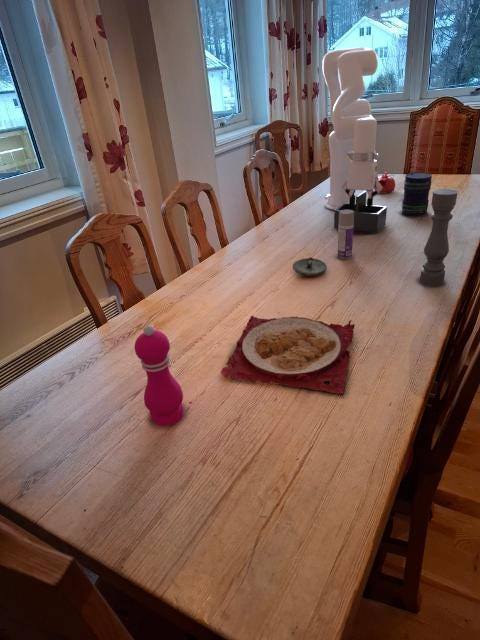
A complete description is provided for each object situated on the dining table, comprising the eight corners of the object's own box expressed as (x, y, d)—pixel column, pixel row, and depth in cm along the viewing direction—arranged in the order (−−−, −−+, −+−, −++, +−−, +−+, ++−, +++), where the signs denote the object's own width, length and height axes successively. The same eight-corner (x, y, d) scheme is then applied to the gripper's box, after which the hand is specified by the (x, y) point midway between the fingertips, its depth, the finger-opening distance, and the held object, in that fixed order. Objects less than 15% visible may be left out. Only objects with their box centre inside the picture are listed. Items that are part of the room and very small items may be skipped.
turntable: (329, 228, 166) (329, 227, 166) (357, 218, 173) (357, 217, 173) (362, 238, 154) (362, 237, 154) (390, 226, 162) (390, 225, 162)
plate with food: (251, 322, 110) (250, 310, 108) (354, 329, 102) (355, 316, 100) (219, 380, 91) (217, 367, 89) (343, 394, 83) (343, 380, 81)
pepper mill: (150, 404, 85) (129, 318, 75) (186, 400, 85) (170, 313, 75) (146, 430, 79) (123, 340, 69) (186, 425, 79) (167, 334, 69)
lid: (305, 266, 140) (301, 252, 138) (332, 264, 134) (329, 249, 132) (289, 280, 133) (285, 266, 131) (317, 279, 127) (313, 263, 125)
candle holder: (442, 277, 122) (457, 188, 109) (444, 287, 117) (459, 195, 104) (419, 276, 124) (431, 188, 111) (419, 285, 119) (432, 195, 106)
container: (351, 253, 143) (353, 209, 135) (353, 259, 139) (355, 213, 131) (336, 254, 143) (338, 209, 136) (338, 259, 139) (339, 214, 132)
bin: (333, 228, 164) (334, 195, 158) (343, 220, 171) (345, 188, 165) (376, 233, 156) (379, 198, 150) (385, 224, 163) (388, 191, 157)
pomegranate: (386, 188, 210) (388, 168, 205) (399, 192, 201) (401, 171, 197) (368, 191, 207) (370, 171, 203) (381, 195, 199) (382, 175, 194)
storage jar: (432, 212, 172) (437, 174, 164) (416, 218, 167) (421, 179, 160) (411, 208, 179) (415, 171, 172) (395, 213, 175) (399, 176, 167)
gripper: (391, 155, 149) (386, 206, 158) (344, 154, 158) (342, 203, 167) (384, 159, 144) (380, 212, 153) (336, 158, 153) (334, 208, 162)
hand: (360, 207), depth 160 cm, fingers open, 5 cm apart
